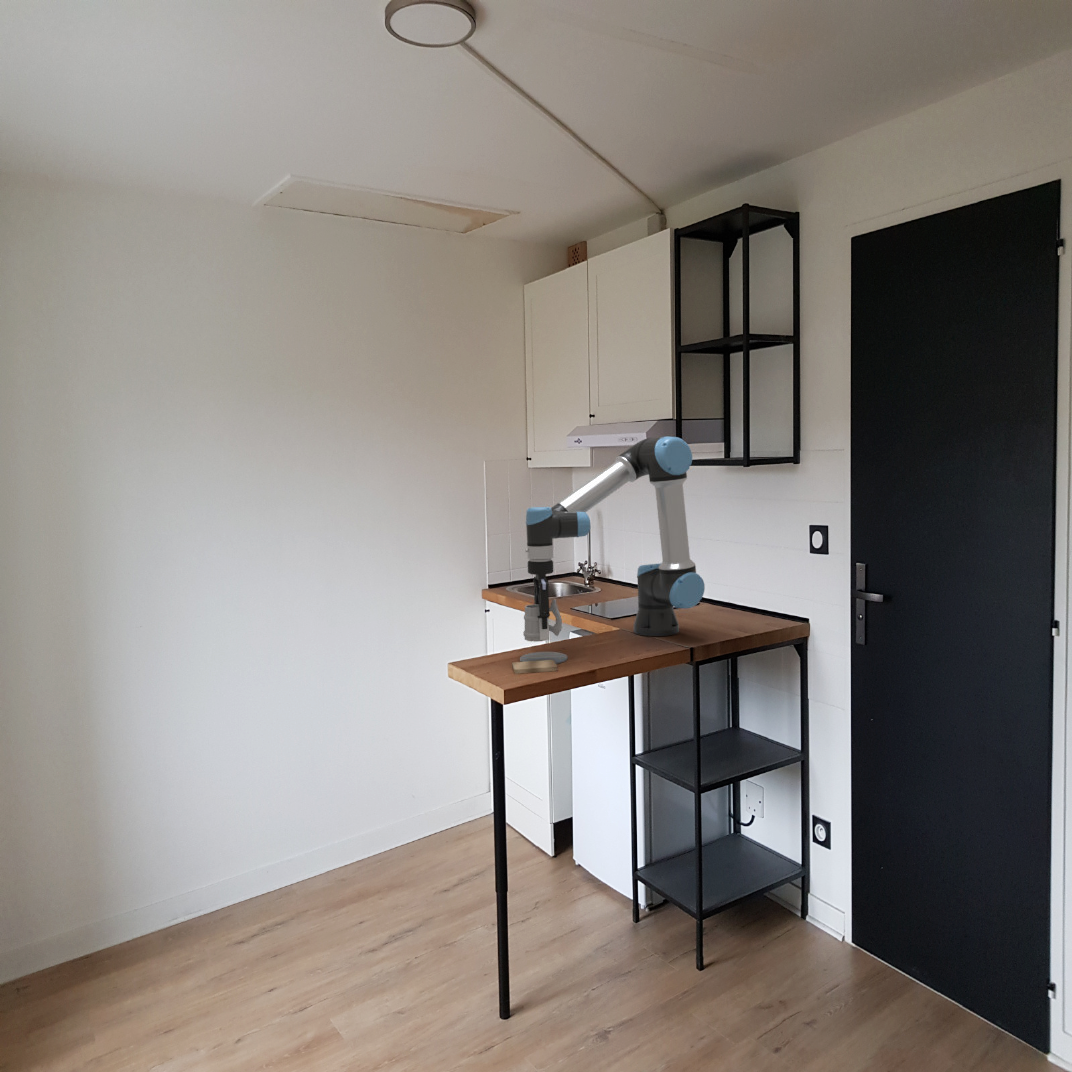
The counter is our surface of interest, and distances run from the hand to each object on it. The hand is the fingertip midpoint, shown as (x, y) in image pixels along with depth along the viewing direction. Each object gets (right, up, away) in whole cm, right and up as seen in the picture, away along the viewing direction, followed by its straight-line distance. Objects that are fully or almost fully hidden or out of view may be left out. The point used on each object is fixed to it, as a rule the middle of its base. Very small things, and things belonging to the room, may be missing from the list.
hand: (542, 636), depth 237 cm
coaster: (0, -7, +1) cm, 7 cm away
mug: (0, -1, -1) cm, 1 cm away
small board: (-2, -8, -10) cm, 13 cm away
